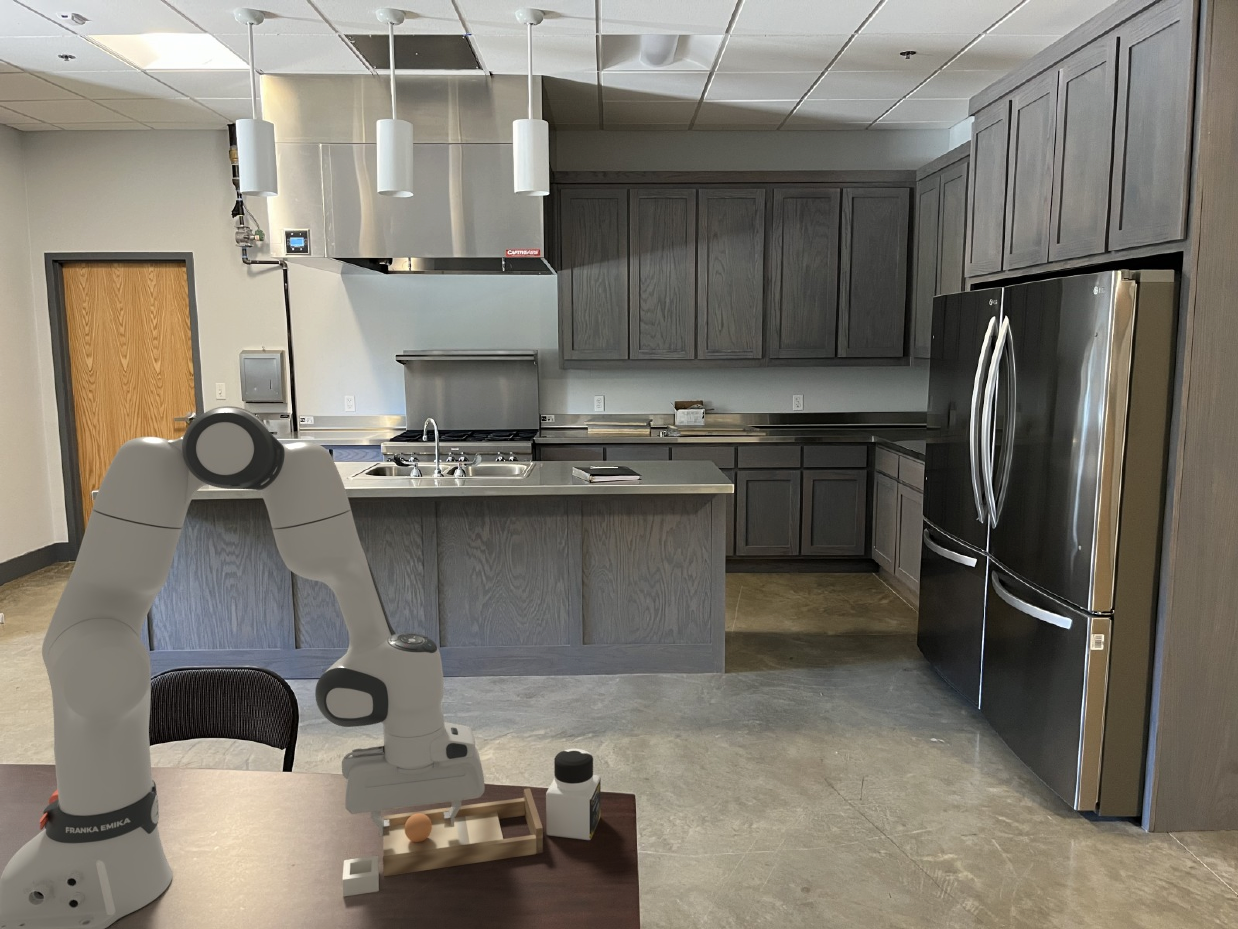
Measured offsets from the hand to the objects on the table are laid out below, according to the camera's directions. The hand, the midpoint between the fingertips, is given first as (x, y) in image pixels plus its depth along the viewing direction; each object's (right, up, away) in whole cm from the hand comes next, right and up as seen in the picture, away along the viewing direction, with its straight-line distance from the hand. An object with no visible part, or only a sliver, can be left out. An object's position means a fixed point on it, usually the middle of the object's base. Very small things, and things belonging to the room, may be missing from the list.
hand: (417, 830), depth 131 cm
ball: (0, 0, 0) cm, 0 cm away
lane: (+6, -3, +2) cm, 7 cm away
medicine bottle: (+23, -2, +7) cm, 24 cm away
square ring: (-6, -4, -8) cm, 11 cm away
